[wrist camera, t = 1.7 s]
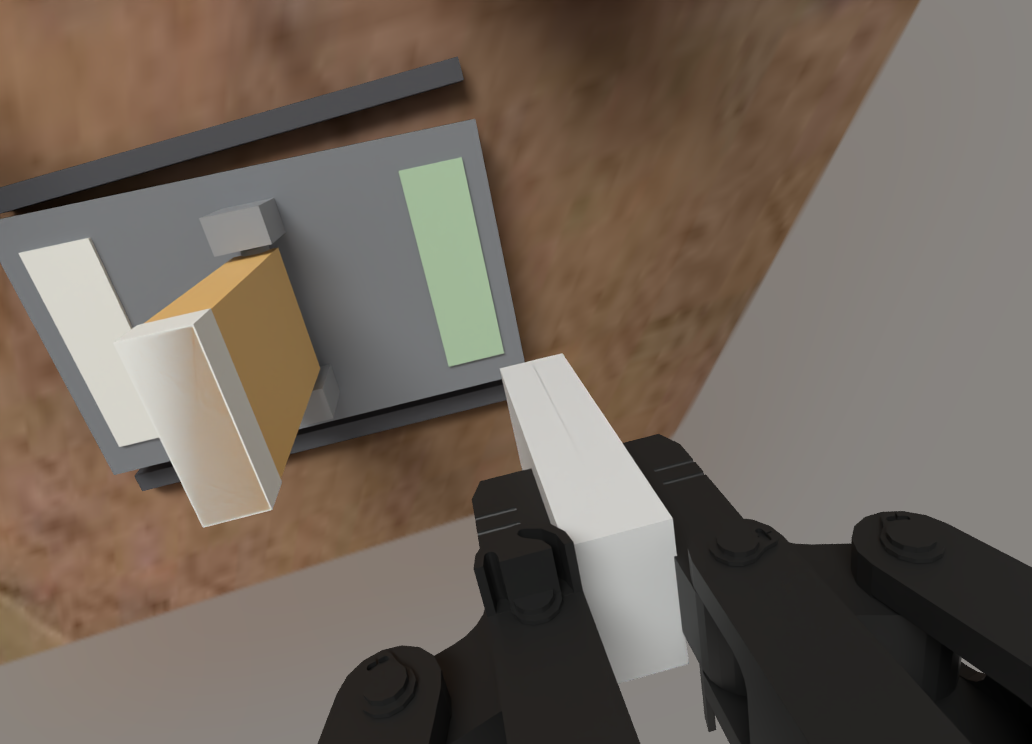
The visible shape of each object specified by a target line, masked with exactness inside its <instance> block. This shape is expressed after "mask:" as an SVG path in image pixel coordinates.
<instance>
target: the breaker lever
mask: <svg viewBox="0 0 1032 744" xmlns="http://www.w3.org/2000/svg"><path fill="white" fill-rule="evenodd" d="M240 252H241V255H242V256H237V257H233V258H232V259H230V260H229V261H228V262H226V263H225V264H224V265H222V266H221V267H220V268H218V269H217V270H215V271H214V272H213V273H211V274H210V275H209V276H207V277H206V278H205V279H203V280H202V281H201V282H199V283H198V284H196V285H195V286H194V287H192V288H191V289H190V290H188V291H187V292H186V293H184V294H183V295H182V296H180V297H179V298H177V299H176V300H175V301H173V302H172V303H171V304H169V305H168V306H167V307H165V308H164V309H163V310H161V311H160V312H158V313H157V314H156V315H154V316H153V317H152V318H150V319H149V320H148V321H146V322H145V323H144V324H139V325H137V326H135V327H134V328H133V329H131V330H130V331H128V332H127V333H126V334H124V335H123V336H121V337H120V338H119V339H117V340H116V341H115V342H113V344H114V346H115V348H116V350H117V352H118V354H119V356H120V358H121V360H122V362H123V364H124V366H125V368H126V371H127V373H128V375H129V377H130V379H131V381H132V383H133V385H134V387H135V389H136V391H137V393H138V395H139V397H140V399H141V401H142V403H143V405H144V407H145V410H146V412H147V414H148V416H149V418H150V420H151V422H152V424H153V426H154V428H155V430H156V432H157V434H158V436H159V438H160V440H161V442H162V444H163V446H164V448H165V451H166V453H167V455H168V457H169V459H170V461H171V463H172V465H173V467H174V469H175V471H176V473H177V475H178V477H179V479H180V481H181V483H182V485H183V487H184V490H185V492H186V494H187V496H188V498H189V500H190V502H191V504H192V506H193V508H194V510H195V512H196V514H197V516H198V518H199V520H200V522H201V524H202V526H203V527H207V526H211V525H215V524H219V523H223V522H227V521H231V520H235V519H238V518H242V517H246V516H250V515H254V514H258V513H262V512H266V511H270V510H272V509H273V506H274V504H275V501H276V498H277V495H278V492H279V489H280V486H281V484H282V481H281V477H282V474H283V471H284V469H285V466H286V463H287V460H288V457H289V455H290V452H291V449H292V446H293V444H294V441H295V438H296V435H297V432H298V430H299V427H300V424H301V421H302V418H303V416H304V413H305V410H306V407H307V404H308V402H309V399H310V396H311V393H312V390H313V388H314V385H315V382H316V379H317V377H318V374H319V371H320V366H319V363H318V360H317V357H316V354H315V352H314V349H313V346H312V343H311V340H310V337H309V334H308V331H307V329H306V326H305V323H304V320H303V317H302V314H301V311H300V309H299V306H298V303H297V300H296V297H295V294H294V291H293V289H292V286H291V283H290V280H289V277H288V274H287V271H286V268H285V266H284V263H283V260H282V257H281V254H280V251H279V248H273V249H269V246H268V245H266V246H261V247H257V248H252V249H248V250H243V251H240Z"/></svg>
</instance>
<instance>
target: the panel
mask: <svg viewBox="0 0 1032 744" xmlns="http://www.w3.org/2000/svg"><path fill="white" fill-rule="evenodd" d="M266 245H268V246H269V249H273V248H279V251H280V254H281V257H282V260H283V263H284V266H285V268H286V271H287V274H288V277H289V280H290V283H291V286H292V289H293V291H294V294H295V297H296V300H297V303H298V306H299V309H300V311H301V314H302V317H303V320H304V323H305V326H306V329H307V331H308V334H309V337H310V340H311V343H312V346H313V349H314V352H315V354H316V357H317V360H318V363H319V366H320V371H319V374H318V377H317V379H316V382H315V385H314V388H313V390H312V393H311V396H310V399H309V402H308V404H307V407H306V410H305V413H304V416H303V418H302V421H301V424H300V427H299V429H302V428H306V427H310V426H314V425H318V424H322V423H326V422H330V421H334V420H338V419H342V418H346V417H350V416H354V415H358V414H362V413H366V412H370V411H375V410H379V409H383V408H387V407H391V406H395V405H399V404H403V403H407V402H411V401H415V400H419V399H423V398H427V397H431V396H435V395H439V394H443V393H447V392H451V391H455V390H459V389H463V388H468V387H472V386H476V385H480V384H484V383H488V382H492V381H496V380H500V379H502V376H501V372H500V368H504V367H508V366H512V365H516V364H520V363H525V362H524V357H523V352H522V347H521V342H520V337H519V332H518V327H517V322H516V317H515V312H514V307H513V302H512V298H511V293H510V288H509V283H508V278H507V273H506V268H505V263H504V258H503V253H502V248H501V243H500V239H499V234H498V229H497V224H496V219H495V214H494V209H493V204H492V199H491V194H490V189H489V184H488V179H487V175H486V170H485V165H484V160H483V155H482V150H481V145H480V140H479V135H478V130H477V125H476V120H475V119H472V120H467V121H462V122H457V123H452V124H448V125H443V126H438V127H433V128H429V129H424V130H419V131H414V132H410V133H405V134H400V135H396V136H391V137H386V138H381V139H377V140H372V141H367V142H362V143H358V144H353V145H348V146H343V147H339V148H334V149H329V150H324V151H320V152H315V153H310V154H306V155H301V156H296V157H291V158H287V159H282V160H277V161H272V162H268V163H263V164H258V165H253V166H249V167H244V168H239V169H235V170H230V171H225V172H220V173H216V174H211V175H206V176H201V177H197V178H192V179H187V180H182V181H178V182H173V183H168V184H164V185H159V186H154V187H149V188H145V189H140V190H135V191H130V192H126V193H121V194H116V195H111V196H107V197H102V198H97V199H93V200H88V201H83V202H78V203H74V204H69V205H64V206H59V207H55V208H50V209H45V210H40V211H36V212H31V213H26V214H21V215H17V216H12V217H8V218H3V219H0V263H1V265H2V267H3V269H4V270H5V272H6V274H7V276H8V278H9V280H10V282H11V283H12V285H13V287H14V289H15V291H16V293H17V295H18V296H19V298H20V300H21V302H22V304H23V306H24V308H25V310H26V311H27V313H28V315H29V317H30V319H31V321H32V323H33V324H34V326H35V328H36V330H37V332H38V334H39V336H40V338H41V339H42V341H43V343H44V345H45V347H46V349H47V351H48V352H49V354H50V356H51V358H52V360H53V362H54V364H55V366H56V367H57V369H58V371H59V373H60V375H61V377H62V379H63V380H64V382H65V384H66V386H67V388H68V390H69V392H70V394H71V395H72V397H73V399H74V401H75V403H76V405H77V407H78V408H79V410H80V412H81V414H82V416H83V418H84V420H85V422H86V423H87V425H88V427H89V429H90V431H91V433H92V435H93V436H94V438H95V440H96V442H97V444H98V446H99V448H100V449H101V451H102V453H103V455H104V457H105V459H106V461H107V463H108V464H109V466H110V468H111V470H112V472H113V474H114V475H116V474H120V473H124V472H128V471H132V470H136V469H140V468H144V467H148V466H152V465H156V464H160V463H164V462H168V461H170V459H169V457H168V455H167V453H166V451H165V448H164V446H163V444H162V442H161V440H160V438H159V436H158V434H157V432H156V430H155V428H154V426H153V424H152V422H151V420H150V418H149V416H148V414H147V412H146V410H145V407H144V405H143V403H142V401H141V399H140V397H139V395H138V393H137V391H136V389H135V387H134V385H133V383H132V381H131V379H130V377H129V375H128V373H127V371H126V368H125V366H124V364H123V362H122V360H121V358H120V356H119V354H118V352H117V350H116V348H115V346H114V344H113V342H115V341H116V340H117V339H119V338H120V337H121V336H123V335H124V334H126V333H127V332H128V331H130V330H131V329H133V328H134V327H135V326H137V325H139V324H144V323H145V322H146V321H148V320H149V319H150V318H152V317H153V316H154V315H156V314H157V313H158V312H160V311H161V310H163V309H164V308H165V307H167V306H168V305H169V304H171V303H172V302H173V301H175V300H176V299H177V298H179V297H180V296H182V295H183V294H184V293H186V292H187V291H188V290H190V289H191V288H192V287H194V286H195V285H196V284H198V283H199V282H201V281H202V280H203V279H205V278H206V277H207V276H209V275H210V274H211V273H213V272H214V271H215V270H217V269H218V268H220V267H221V266H222V265H224V264H225V263H226V262H228V261H229V260H230V259H232V258H233V257H237V256H242V255H241V252H240V251H243V250H248V249H252V248H257V247H261V246H266Z"/></svg>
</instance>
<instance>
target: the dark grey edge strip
mask: <svg viewBox="0 0 1032 744" xmlns="http://www.w3.org/2000/svg"><path fill="white" fill-rule="evenodd" d="M504 400H507V399H506V394H505V390H504V385H503V381H502V379H500V380H496V381H492V382H488V383H484V384H480V385H476V386H472V387H468V388H463V389H459V390H455V391H451V392H447V393H443V394H439V395H435V396H431V397H427V398H423V399H419V400H415V401H411V402H407V403H403V404H399V405H395V406H391V407H387V408H383V409H379V410H375V411H370V412H366V413H362V414H358V415H354V416H350V417H346V418H342V419H338V420H334V421H330V422H326V423H322V424H318V425H314V426H310V427H306V428H302V429H299V430H298V432H297V435H296V438H295V441H294V444H293V446H292V449H291V452H290V454H293V453H297V452H301V451H305V450H309V449H313V448H317V447H321V446H325V445H329V444H333V443H337V442H341V441H345V440H349V439H353V438H357V437H361V436H365V435H369V434H373V433H377V432H381V431H384V430H388V429H392V428H396V427H400V426H404V425H408V424H412V423H416V422H420V421H424V420H428V419H432V418H436V417H440V416H444V415H448V414H452V413H456V412H460V411H464V410H468V409H472V408H476V407H480V406H484V405H488V404H492V403H496V402H500V401H504ZM135 478H136V480H137V482H138V484H139V486H140V488H141V490H142V491H145V490H149V489H153V488H157V487H161V486H165V485H169V484H173V483H177V482H181V481H180V479H179V477H178V475H177V473H176V471H175V469H174V467H173V465H172V463H171V461H168V462H164V463H160V464H156V465H152V466H148V467H144V468H140V469H139V471H138V472H137V473H136V475H135Z"/></svg>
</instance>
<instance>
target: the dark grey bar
mask: <svg viewBox="0 0 1032 744" xmlns="http://www.w3.org/2000/svg"><path fill="white" fill-rule="evenodd" d="M463 80H464V78H463V74H462V71H461V67H460V63H459V60H458V57H455V58H451V59H448V60H444V61H441V62H437V63H434V64H430V65H427V66H423V67H420V68H416V69H413V70H409V71H406V72H402V73H399V74H395V75H392V76H388V77H385V78H381V79H378V80H374V81H371V82H367V83H364V84H360V85H357V86H353V87H350V88H346V89H343V90H339V91H336V92H332V93H329V94H325V95H322V96H318V97H315V98H311V99H308V100H304V101H301V102H297V103H294V104H290V105H287V106H283V107H280V108H276V109H273V110H269V111H266V112H262V113H259V114H255V115H252V116H248V117H245V118H241V119H238V120H234V121H231V122H227V123H224V124H220V125H217V126H213V127H210V128H206V129H203V130H199V131H196V132H192V133H189V134H185V135H182V136H178V137H175V138H171V139H168V140H164V141H161V142H157V143H154V144H150V145H147V146H143V147H140V148H136V149H133V150H129V151H126V152H122V153H119V154H115V155H112V156H108V157H105V158H101V159H98V160H94V161H91V162H87V163H84V164H80V165H77V166H73V167H70V168H67V169H63V170H60V171H56V172H53V173H49V174H46V175H42V176H39V177H35V178H32V179H28V180H25V181H21V182H18V183H14V184H11V185H7V186H4V187H0V213H4V212H9V211H14V210H17V209H21V208H24V207H28V206H31V205H35V204H38V203H41V202H45V201H48V200H52V199H55V198H59V197H62V196H66V195H69V194H73V193H76V192H80V191H83V190H87V189H90V188H93V187H97V186H100V185H104V184H107V183H111V182H114V181H118V180H121V179H125V178H128V177H132V176H135V175H139V174H142V173H145V172H149V171H152V170H156V169H159V168H163V167H166V166H170V165H173V164H177V163H180V162H184V161H187V160H191V159H194V158H197V157H201V156H204V155H208V154H211V153H215V152H218V151H222V150H225V149H229V148H232V147H236V146H239V145H243V144H246V143H249V142H253V141H256V140H260V139H263V138H267V137H270V136H274V135H277V134H281V133H284V132H288V131H291V130H295V129H298V128H302V127H305V126H308V125H312V124H315V123H319V122H322V121H326V120H329V119H333V118H336V117H340V116H343V115H347V114H350V113H354V112H357V111H360V110H364V109H367V108H371V107H374V106H378V105H381V104H385V103H388V102H392V101H395V100H399V99H402V98H406V97H409V96H412V95H416V94H419V93H423V92H426V91H430V90H433V89H437V88H440V87H444V86H447V85H451V84H454V83H458V82H461V81H463Z"/></svg>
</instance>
